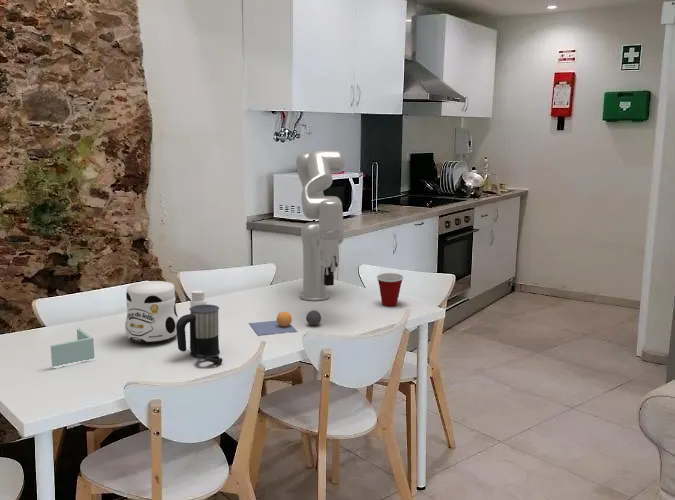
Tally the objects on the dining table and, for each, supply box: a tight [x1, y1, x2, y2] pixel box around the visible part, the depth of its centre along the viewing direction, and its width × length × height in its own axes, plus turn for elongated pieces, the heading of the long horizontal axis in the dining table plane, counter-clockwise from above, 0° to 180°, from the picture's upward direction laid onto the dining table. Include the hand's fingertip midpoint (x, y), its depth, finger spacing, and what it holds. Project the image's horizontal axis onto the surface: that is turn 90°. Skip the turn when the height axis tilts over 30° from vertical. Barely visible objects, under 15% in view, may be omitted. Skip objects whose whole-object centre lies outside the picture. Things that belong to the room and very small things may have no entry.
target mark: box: [248, 320, 298, 337], centre depth 231 cm, size 14×14×1 cm
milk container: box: [124, 280, 180, 344], centre depth 216 cm, size 17×17×18 cm
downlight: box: [189, 289, 207, 314], centre depth 240 cm, size 8×7×10 cm
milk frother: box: [176, 303, 223, 365], centre depth 200 cm, size 14×16×15 cm
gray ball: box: [305, 309, 322, 326], centre depth 234 cm, size 5×5×5 cm
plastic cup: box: [376, 272, 405, 308], centre depth 260 cm, size 11×11×12 cm
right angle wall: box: [50, 328, 95, 367], centre depth 197 cm, size 12×12×8 cm
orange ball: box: [276, 311, 293, 327], centre depth 232 cm, size 5×5×5 cm
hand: (328, 284), depth 235 cm, fingers closed
